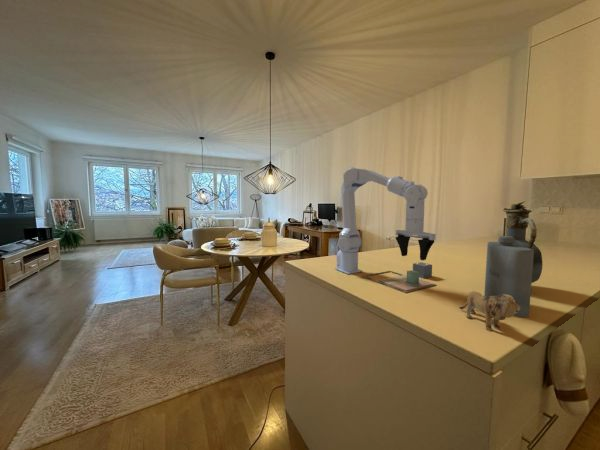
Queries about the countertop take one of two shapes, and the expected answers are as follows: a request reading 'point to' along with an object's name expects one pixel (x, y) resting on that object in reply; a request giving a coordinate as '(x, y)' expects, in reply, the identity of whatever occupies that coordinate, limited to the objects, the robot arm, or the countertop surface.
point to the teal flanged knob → (412, 278)
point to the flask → (509, 272)
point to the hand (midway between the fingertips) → (413, 257)
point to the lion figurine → (491, 307)
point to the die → (423, 269)
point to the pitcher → (524, 234)
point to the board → (400, 283)
